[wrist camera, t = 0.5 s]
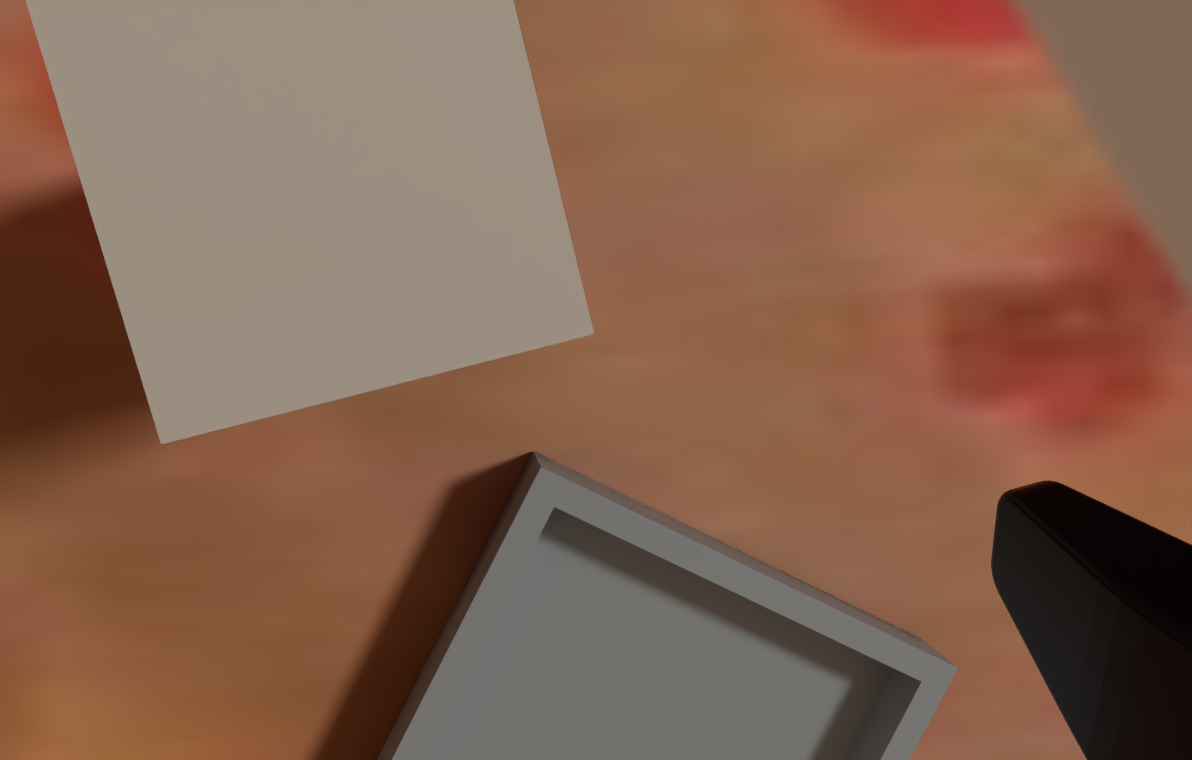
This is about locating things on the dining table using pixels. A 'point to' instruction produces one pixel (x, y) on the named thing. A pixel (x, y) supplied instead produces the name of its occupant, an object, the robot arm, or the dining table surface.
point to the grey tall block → (311, 194)
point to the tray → (654, 648)
